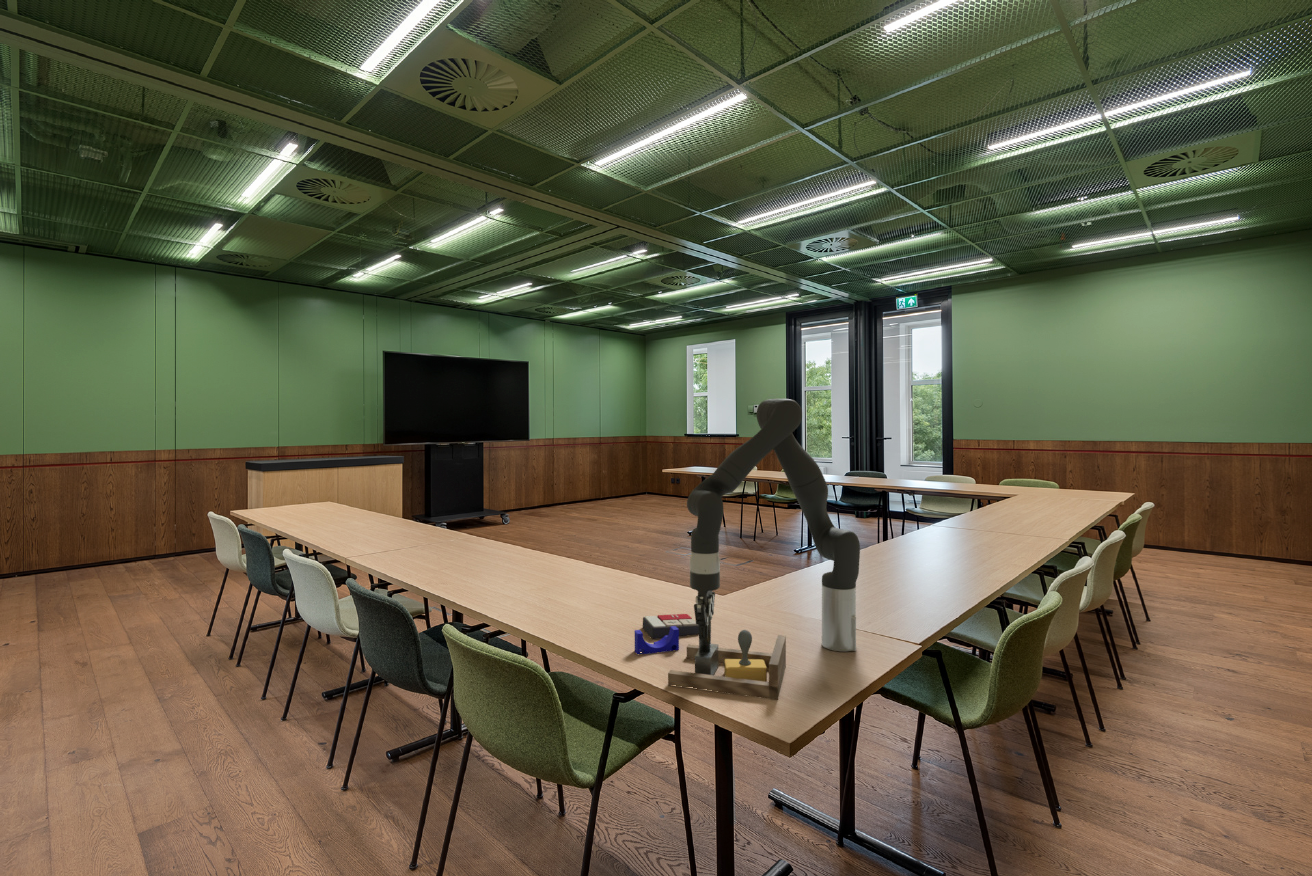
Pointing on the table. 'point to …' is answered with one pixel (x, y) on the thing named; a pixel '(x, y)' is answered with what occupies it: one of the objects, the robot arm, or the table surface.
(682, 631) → the calculator
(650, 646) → the blue pipe saddle
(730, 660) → the rubber stamp
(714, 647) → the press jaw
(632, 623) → the table surface
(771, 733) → the table surface
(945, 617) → the table surface
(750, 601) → the table surface
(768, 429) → the robot arm
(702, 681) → the frame
